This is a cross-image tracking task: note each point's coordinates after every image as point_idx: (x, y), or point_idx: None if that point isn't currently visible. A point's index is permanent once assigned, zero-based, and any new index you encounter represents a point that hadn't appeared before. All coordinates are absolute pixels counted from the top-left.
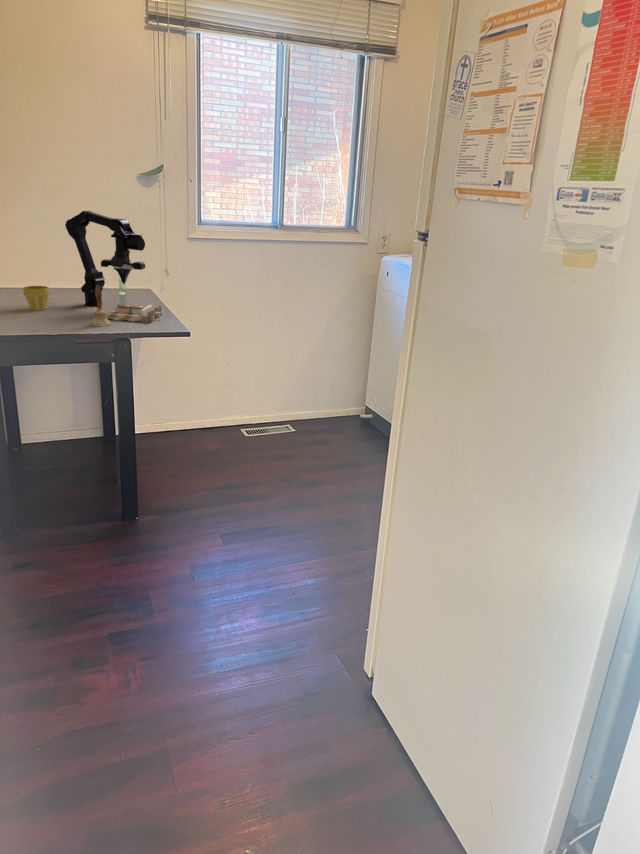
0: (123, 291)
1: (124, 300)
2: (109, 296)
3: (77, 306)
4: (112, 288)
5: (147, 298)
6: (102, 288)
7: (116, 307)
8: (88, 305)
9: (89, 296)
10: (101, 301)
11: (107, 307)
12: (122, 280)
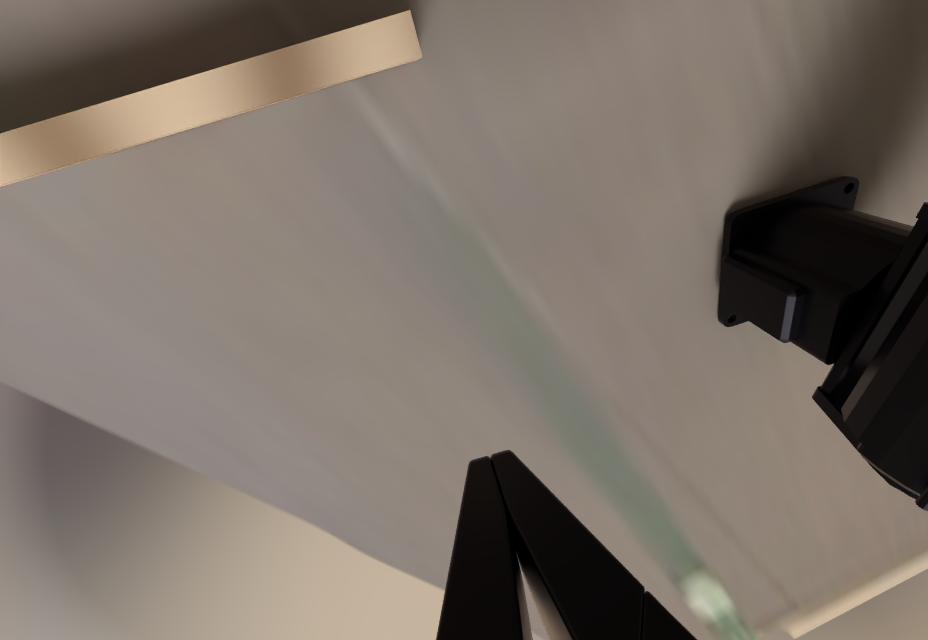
0: (719, 622)
1: (625, 504)
2: (749, 522)
3: (899, 103)
4: (786, 626)
5: (532, 607)
6: (831, 415)
7: (392, 17)
8: (809, 187)
9: (886, 225)
10: (733, 305)
11: (628, 241)
12: (527, 506)
